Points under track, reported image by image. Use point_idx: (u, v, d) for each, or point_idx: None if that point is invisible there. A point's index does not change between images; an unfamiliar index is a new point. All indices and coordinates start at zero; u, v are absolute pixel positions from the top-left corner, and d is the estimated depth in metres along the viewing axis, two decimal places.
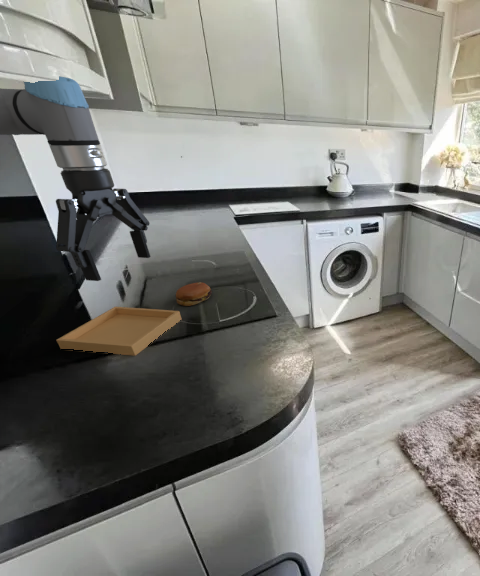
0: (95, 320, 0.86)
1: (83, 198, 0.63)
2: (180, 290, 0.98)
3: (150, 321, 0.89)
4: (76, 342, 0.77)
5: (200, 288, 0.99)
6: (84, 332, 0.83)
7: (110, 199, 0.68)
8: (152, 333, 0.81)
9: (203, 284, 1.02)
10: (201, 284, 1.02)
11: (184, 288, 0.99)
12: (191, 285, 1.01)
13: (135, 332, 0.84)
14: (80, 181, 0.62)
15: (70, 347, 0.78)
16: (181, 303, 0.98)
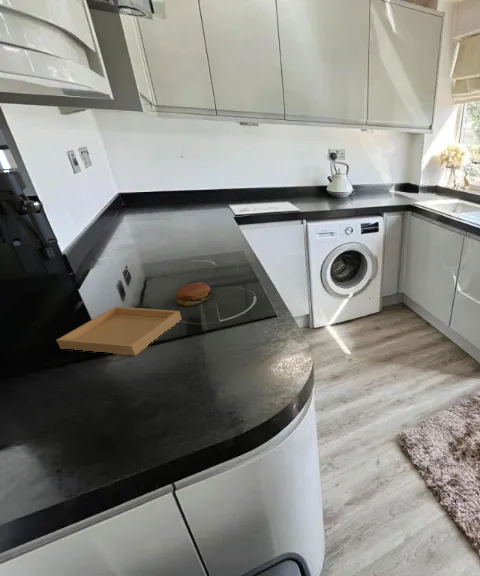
0: (95, 320, 0.86)
1: None
2: (180, 290, 0.98)
3: (150, 321, 0.89)
4: (76, 342, 0.77)
5: (200, 288, 0.99)
6: (84, 332, 0.83)
7: None
8: (152, 333, 0.81)
9: (203, 284, 1.02)
10: (201, 284, 1.02)
11: (184, 288, 0.99)
12: (191, 285, 1.01)
13: (135, 332, 0.84)
14: (21, 180, 0.71)
15: (70, 347, 0.78)
16: (181, 303, 0.98)
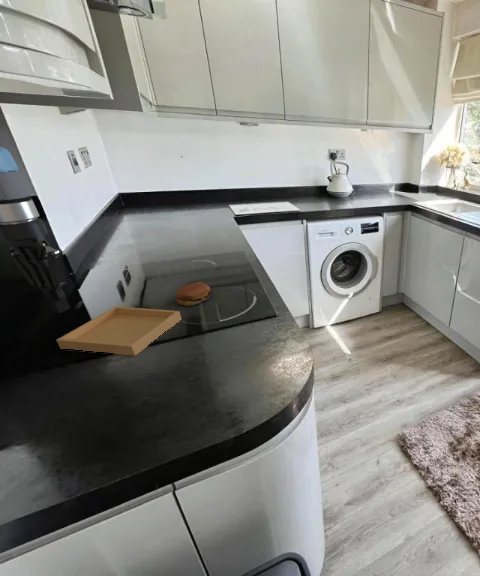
0: (95, 320, 0.86)
1: None
2: (180, 290, 0.98)
3: (150, 321, 0.89)
4: (76, 342, 0.77)
5: (200, 288, 0.99)
6: (84, 332, 0.83)
7: None
8: (152, 333, 0.81)
9: (203, 284, 1.02)
10: (201, 284, 1.02)
11: (184, 288, 0.99)
12: (191, 285, 1.01)
13: (135, 332, 0.84)
14: (43, 227, 0.76)
15: (70, 347, 0.78)
16: (181, 303, 0.98)
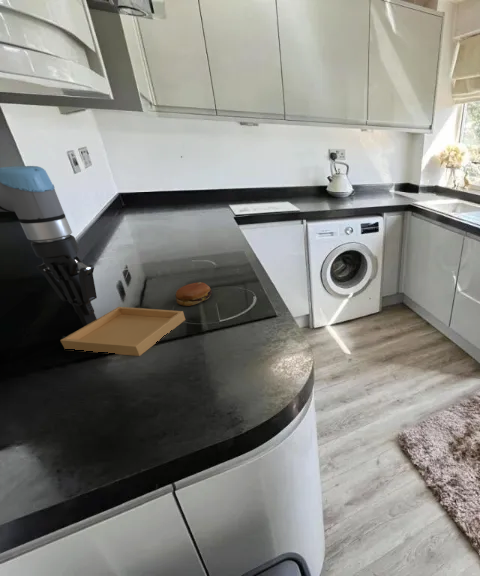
0: (99, 320, 0.86)
1: None
2: (180, 290, 0.98)
3: (154, 321, 0.89)
4: (80, 342, 0.77)
5: (200, 288, 0.99)
6: (88, 332, 0.83)
7: None
8: (156, 333, 0.81)
9: (203, 284, 1.02)
10: (201, 284, 1.02)
11: (184, 288, 0.99)
12: (191, 285, 1.01)
13: (139, 332, 0.84)
14: (75, 244, 0.77)
15: (74, 347, 0.78)
16: (181, 303, 0.98)
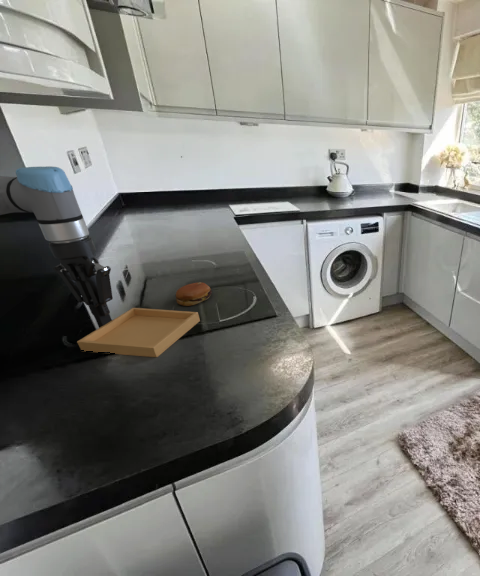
0: (114, 321, 0.85)
1: None
2: (180, 290, 0.98)
3: (169, 322, 0.88)
4: (97, 344, 0.76)
5: (200, 288, 0.99)
6: (104, 333, 0.82)
7: None
8: (172, 334, 0.81)
9: (203, 284, 1.02)
10: (201, 284, 1.02)
11: (184, 288, 0.99)
12: (191, 285, 1.01)
13: (155, 333, 0.83)
14: (92, 245, 0.76)
15: (91, 349, 0.77)
16: (181, 303, 0.98)
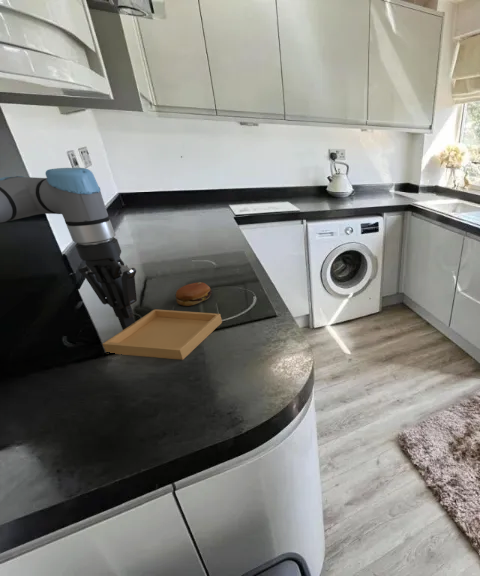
0: (137, 323, 0.85)
1: None
2: (180, 290, 0.98)
3: (192, 324, 0.88)
4: (123, 346, 0.76)
5: (200, 288, 0.99)
6: (127, 335, 0.82)
7: None
8: (197, 336, 0.80)
9: (203, 284, 1.02)
10: (201, 284, 1.02)
11: (184, 288, 0.99)
12: (191, 285, 1.01)
13: (178, 335, 0.83)
14: (118, 246, 0.76)
15: (116, 351, 0.77)
16: (181, 303, 0.98)
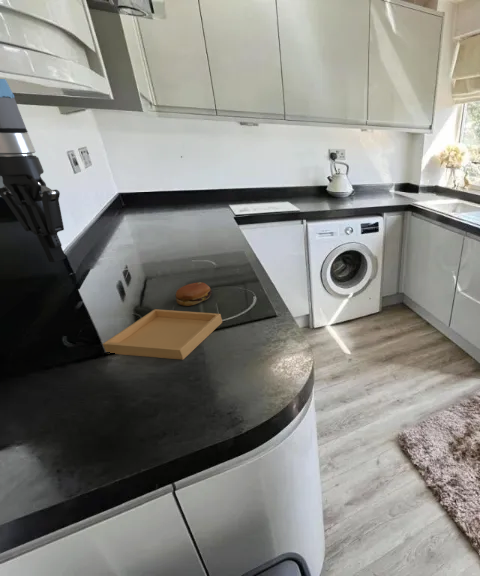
0: (137, 323, 0.85)
1: None
2: (180, 290, 0.98)
3: (192, 324, 0.88)
4: (123, 346, 0.76)
5: (200, 288, 0.99)
6: (128, 335, 0.82)
7: None
8: (197, 336, 0.80)
9: (203, 284, 1.02)
10: (201, 284, 1.02)
11: (184, 288, 0.99)
12: (191, 285, 1.01)
13: (179, 335, 0.83)
14: (39, 165, 0.70)
15: (116, 351, 0.77)
16: (181, 303, 0.98)
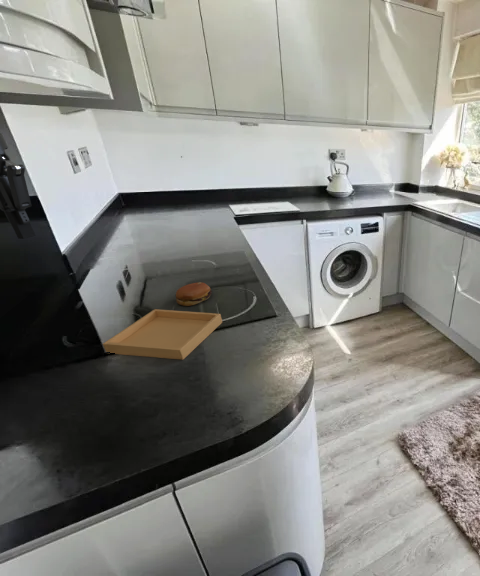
0: (137, 323, 0.85)
1: None
2: (180, 290, 0.98)
3: (192, 324, 0.88)
4: (123, 346, 0.76)
5: (200, 288, 0.99)
6: (128, 335, 0.82)
7: None
8: (197, 336, 0.80)
9: (203, 284, 1.02)
10: (201, 284, 1.02)
11: (184, 288, 0.99)
12: (191, 285, 1.01)
13: (179, 335, 0.83)
14: (2, 139, 0.70)
15: (116, 351, 0.77)
16: (181, 303, 0.98)
